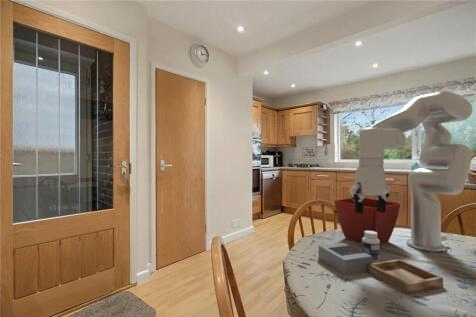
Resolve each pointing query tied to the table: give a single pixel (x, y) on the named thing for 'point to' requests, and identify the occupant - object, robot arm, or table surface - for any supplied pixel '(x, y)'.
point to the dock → (344, 258)
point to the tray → (405, 276)
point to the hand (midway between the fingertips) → (370, 212)
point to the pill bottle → (371, 245)
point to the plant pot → (366, 219)
